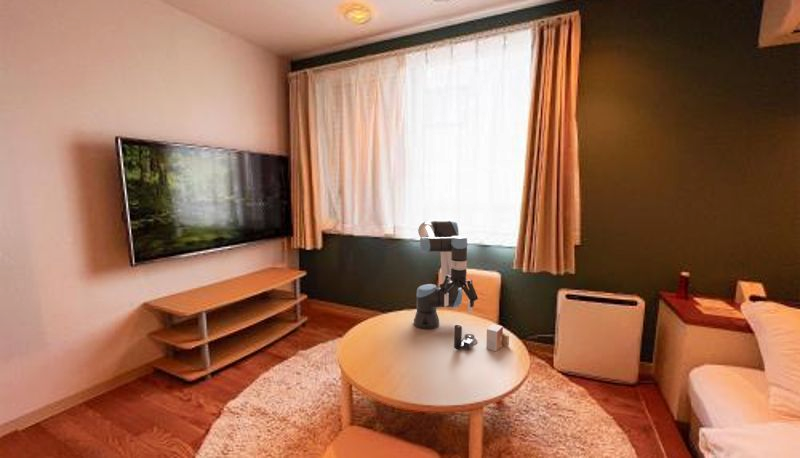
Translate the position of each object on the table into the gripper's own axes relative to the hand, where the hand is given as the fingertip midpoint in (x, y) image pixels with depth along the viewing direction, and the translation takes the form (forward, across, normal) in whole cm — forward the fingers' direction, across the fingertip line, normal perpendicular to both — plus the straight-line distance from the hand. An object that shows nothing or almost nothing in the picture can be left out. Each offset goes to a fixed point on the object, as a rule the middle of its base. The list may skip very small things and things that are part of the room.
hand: (457, 309), depth 164 cm
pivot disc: (+21, +1, +11) cm, 24 cm away
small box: (+21, +14, +14) cm, 29 cm away
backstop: (+21, +15, +19) cm, 32 cm away
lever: (+20, +2, +5) cm, 21 cm away
